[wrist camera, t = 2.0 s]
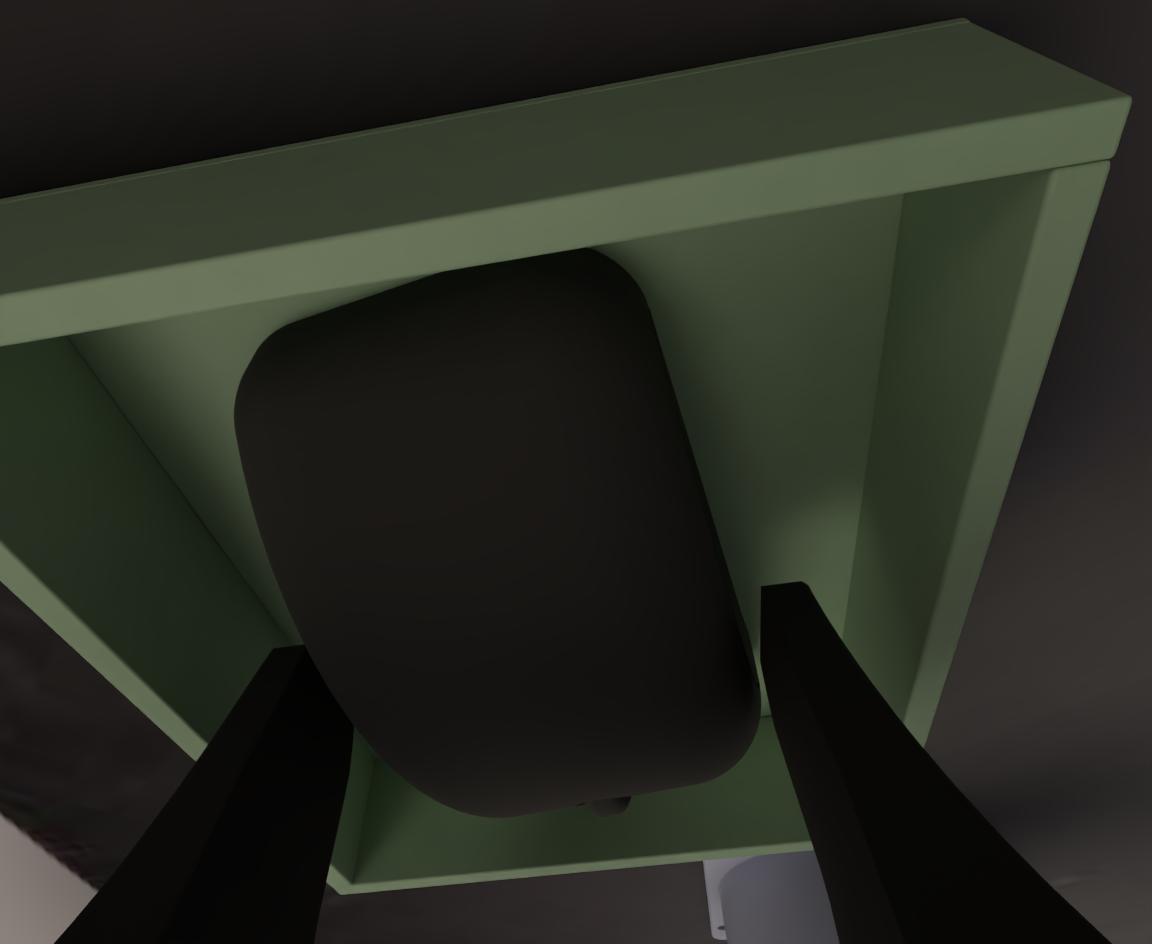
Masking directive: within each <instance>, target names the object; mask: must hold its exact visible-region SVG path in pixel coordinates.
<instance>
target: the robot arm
mask: <svg viewBox="0 0 1152 944" xmlns="http://www.w3.org/2000/svg"><path fill="white" fill-rule="evenodd" d="M760 664H761V669H762V673H763V678H764V683H765V688H766V692H767V697H768V701H769V706H770V711H771V715H772V720H773V724H774V728H775V731H776V734H777V737H778V740H779V743H780V747H781V750H782V753H783V756H784V759H785V762H786V765H787V768H788V771H789V774H790V778H791V781H792V784H793V787H794V790H795V793H796V796H797V799H798V802H799V805H800V808H801V811H802V814H803V817H804V821H805V824H806V827H807V830H808V833H809V836H810V839H811V842H812V845H813V848H814V850H809V851H799V852H788V853H778V854H767V855H756V856H746V857H735V858H725V859H714V860H704V861H703V867H704V875H705V883H706V892H707V900H708V908H709V916H710V924H711V931H712V936H713V937H714V938H715V939H720V940H727V944H1112V943H1111V942H1110V941H1109V940H1107V939H1106V938H1105V937H1104V936H1103V935H1102V934H1101V933H1100V932H1099V931H1098V930H1097V929H1096V928H1095V927H1094V926H1093V925H1092V924H1090V923H1089V922H1088V921H1087V920H1086V919H1085V918H1084V917H1083V916H1082V915H1081V914H1080V913H1079V912H1078V911H1077V910H1076V909H1075V908H1074V907H1072V906H1071V905H1070V904H1069V903H1068V902H1067V901H1066V900H1065V899H1064V898H1063V897H1062V896H1061V895H1060V894H1059V893H1058V892H1057V891H1055V890H1054V889H1053V888H1052V887H1051V886H1050V885H1049V884H1048V883H1047V882H1046V881H1045V880H1044V879H1043V878H1042V877H1041V876H1040V875H1039V874H1038V873H1037V872H1036V871H1035V870H1034V869H1033V868H1032V867H1031V866H1030V865H1029V864H1028V863H1027V862H1026V861H1025V859H1024V858H1023V857H1022V856H1021V855H1020V854H1019V853H1018V852H1017V851H1016V850H1015V849H1014V848H1013V847H1012V846H1011V845H1010V844H1009V843H1008V842H1007V841H1006V840H1005V839H1004V838H1003V837H1002V836H1001V835H1000V834H999V833H998V832H997V831H996V829H995V828H994V827H993V826H992V825H991V824H990V823H989V822H988V821H987V820H986V819H985V818H984V817H983V816H982V815H981V813H980V812H979V811H978V810H977V809H976V808H975V807H974V806H973V805H972V804H971V803H970V801H969V800H968V799H967V798H966V797H965V796H964V795H963V794H962V793H961V791H960V790H959V789H958V788H957V787H956V786H955V785H954V783H953V782H952V781H951V780H950V779H949V778H948V777H947V775H946V774H945V773H944V772H943V771H942V770H941V768H940V767H939V766H938V765H937V764H936V762H935V761H934V760H933V759H932V758H931V757H930V755H929V754H928V753H927V752H926V751H925V749H924V748H923V747H922V746H921V745H920V743H919V742H918V741H917V740H916V739H915V737H914V736H913V735H912V734H911V732H910V731H909V730H908V729H907V727H906V726H905V725H904V724H903V722H902V721H901V720H900V719H899V717H898V716H897V715H896V713H895V712H894V711H893V709H892V708H891V707H890V706H889V704H888V703H887V702H886V700H885V699H884V698H883V696H882V695H881V694H880V692H879V691H878V690H877V688H876V687H875V686H874V685H873V683H872V682H871V681H870V679H869V678H868V676H867V675H866V674H865V672H864V671H863V670H862V668H861V667H860V665H859V664H858V663H857V661H856V660H855V658H854V657H853V655H852V654H851V652H850V651H849V650H848V648H847V647H846V645H845V644H844V642H843V641H842V639H841V638H840V636H839V635H838V633H837V632H836V630H835V629H834V627H833V626H832V624H831V623H830V621H829V619H828V618H827V616H826V615H825V613H824V611H823V610H822V608H821V606H820V605H819V603H818V601H817V600H816V598H815V596H814V594H813V593H812V591H811V589H810V587H809V585H807V584H806V583H804V582H802V581H798V582H790V583H782V584H774V585H767V586H761V617H760ZM353 736H354V725H353V724H352V722H351V721H350V720H349V718H348V717H347V715H346V714H345V712H344V711H343V710H342V708H341V707H340V705H339V704H338V702H337V701H336V699H335V697H334V696H333V694H332V693H331V691H330V689H329V688H328V686H327V684H326V683H325V681H324V679H323V678H322V676H321V674H320V673H319V671H318V669H317V667H316V665H315V664H314V662H313V660H312V658H311V656H310V654H309V652H308V650H307V648H306V647H305V645H304V644H303V645H296V646H288V647H280V648H273V649H272V651H271V652H270V653H269V655H268V656H267V658H266V659H265V661H264V662H263V664H262V665H261V666H260V668H259V669H258V671H257V672H256V674H255V675H254V677H253V678H252V680H251V681H250V683H249V684H248V686H247V687H246V689H245V690H244V692H243V693H242V695H241V696H240V698H239V699H238V701H237V702H236V704H235V705H234V707H233V708H232V710H231V711H230V713H229V714H228V716H227V717H226V719H225V720H224V722H223V723H222V725H221V726H220V728H219V729H218V731H217V732H216V734H215V735H214V737H213V738H212V740H211V741H210V742H209V744H208V745H207V747H206V748H205V750H204V751H203V752H202V754H201V755H200V757H199V758H198V760H197V761H196V763H195V764H194V765H193V767H192V768H191V770H190V771H189V773H188V774H187V775H186V777H185V778H184V780H183V781H182V783H181V784H180V786H179V787H178V788H177V790H176V791H175V793H174V794H173V795H172V797H171V798H170V799H169V801H168V802H167V803H166V805H165V806H164V807H163V809H162V810H161V812H160V813H159V814H158V816H157V817H156V818H155V820H154V821H153V822H152V824H151V825H150V826H149V828H148V829H147V830H146V832H145V833H144V834H143V836H142V837H141V838H140V840H139V841H138V842H137V844H136V845H135V846H134V848H133V849H132V850H131V851H130V853H129V854H128V855H127V857H126V858H125V859H124V860H123V862H122V863H121V864H120V865H119V867H118V868H117V869H116V870H115V872H114V873H113V874H112V876H111V877H110V878H109V879H108V880H107V882H106V883H105V884H104V885H103V887H102V888H101V889H100V890H99V891H98V893H97V894H96V895H95V896H94V897H93V899H92V900H91V901H90V902H89V903H88V905H87V906H86V907H85V908H84V909H83V911H82V912H81V913H80V914H79V916H77V918H76V919H75V920H74V921H73V922H72V924H71V925H70V926H69V927H68V928H67V929H66V931H65V932H64V933H63V934H62V935H61V936H60V937H59V938H58V940H57V941H56V942H55V943H54V944H314V939H315V934H316V928H317V923H318V917H319V913H320V908H321V904H322V899H323V895H324V890H325V885H326V881H327V876H328V872H329V867H330V863H331V858H332V854H333V849H334V845H335V840H336V836H337V831H338V827H339V822H340V817H341V813H342V808H343V803H344V799H345V794H346V789H347V784H348V779H349V774H350V766H351V757H352V748H353Z"/></svg>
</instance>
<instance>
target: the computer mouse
mask: <svg viewBox="0 0 1152 944" xmlns="http://www.w3.org/2000/svg"><path fill="white" fill-rule="evenodd" d="M234 426H235V434H236V439H237V444H238V449H239V454H240V459H241V464H242V469H243V473H244V477H245V481H246V485H247V489H248V493H249V497H250V501H251V505H252V508H253V512H254V515H255V519H256V522H257V526H258V529H259V532H260V535H261V538H262V541H263V544H264V547H265V550H266V553H267V556H268V559H269V562H270V565H271V568H272V571H273V573H274V576H275V578H276V581H277V583H278V586H279V588H280V591H281V593H282V596H283V598H284V601H285V603H286V606H287V608H288V611H289V613H290V615H291V617H292V619H293V621H294V624H295V626H296V628H297V630H298V632H299V634H300V636H301V639H302V641H303V643H304V645H305V647H306V648H307V650H308V652H309V654H310V656H311V658H312V660H313V662H314V664H315V665H316V667H317V669H318V671H319V673H320V674H321V676H322V678H323V679H324V681H325V683H326V684H327V686H328V688H329V689H330V691H331V693H332V694H333V696H334V697H335V699H336V701H337V702H338V704H339V705H340V707H341V708H342V710H343V711H344V712H345V714H346V715H347V717H348V718H349V720H350V721H351V722H352V724H353V725H354V726H355V728H356V729H357V730H358V732H359V733H360V734H361V735H362V737H363V738H364V739H365V740H366V741H367V743H368V744H369V745H370V746H371V747H372V748H373V749H374V751H375V752H376V753H377V754H378V755H379V756H380V757H381V758H382V759H383V760H384V761H385V762H386V763H387V764H388V765H389V766H390V767H391V768H392V769H393V770H394V771H395V772H396V773H397V774H399V775H400V776H401V777H402V778H403V779H405V780H406V781H407V782H408V783H409V784H411V785H412V786H413V787H415V788H416V789H417V790H419V791H420V792H422V793H423V794H425V795H427V796H428V797H430V798H432V799H433V800H435V801H437V802H439V803H441V804H443V805H445V806H447V807H450V808H452V809H454V810H457V811H460V812H463V813H467V814H470V815H475V816H480V817H487V818H510V817H518V816H523V815H529V814H535V813H540V812H546V811H551V810H557V809H562V808H568V807H573V806H579V805H584V804H587V805H588V806H589V808H590V809H591V810H592V811H593V812H594V813H596V814H597V815H600V816H602V817H610V816H615V815H619V814H621V813H623V812H624V811H625V810H626V809H627V807H628V805H629V803H630V801H631V796H635V795H640V794H646V793H652V792H657V791H663V790H669V789H674V788H680V787H686V786H691V785H697V784H701V783H705V782H707V781H710V780H713V779H715V778H717V777H719V776H721V775H723V774H724V773H726V772H727V771H728V770H730V769H731V768H732V767H733V766H735V765H736V764H737V763H738V762H739V761H740V760H741V759H742V757H743V756H744V755H745V753H746V752H747V751H748V749H749V747H750V745H751V744H752V742H753V740H754V737H755V735H756V733H757V729H758V726H759V721H760V715H761V691H760V683H759V678H758V673H757V668H756V663H755V659H754V654H753V649H752V645H751V641H750V637H749V633H748V630H747V627H746V624H745V621H744V619H743V616H742V613H741V610H740V607H739V603H738V600H737V597H736V593H735V590H734V587H733V583H732V580H731V577H730V573H729V570H728V567H727V564H726V560H725V557H724V554H723V550H722V547H721V544H720V540H719V537H718V534H717V530H716V527H715V524H714V520H713V517H712V514H711V511H710V507H709V504H708V501H707V497H706V494H705V491H704V487H703V484H702V481H701V477H700V474H699V471H698V467H697V464H696V461H695V457H694V454H693V451H692V448H691V444H690V441H689V438H688V434H687V431H686V428H685V424H684V421H683V418H682V414H681V411H680V408H679V404H678V401H677V398H676V394H675V391H674V388H673V385H672V381H671V378H670V375H669V371H668V368H667V365H666V361H665V358H664V355H663V351H662V348H661V345H660V341H659V338H658V335H657V331H656V328H655V325H654V322H653V318H652V315H651V312H650V308H648V304H647V300H646V298H645V296H644V294H643V292H642V290H641V289H640V287H639V285H638V284H637V282H636V281H635V280H634V279H633V278H632V276H631V275H630V274H629V273H628V272H627V271H626V270H625V269H624V268H623V267H622V266H620V265H619V264H618V263H616V262H615V261H614V260H612V259H611V258H609V257H607V256H606V255H604V254H602V253H600V252H598V251H596V250H593V249H591V248H588V247H584V248H579V249H573V250H567V251H561V252H555V253H549V254H543V255H537V256H531V257H525V258H520V259H514V260H508V261H502V262H496V263H490V264H484V265H478V266H472V267H466V268H461V269H455V270H449V271H443V272H440V273H437V274H434V275H431V276H428V277H425V278H422V279H419V280H416V281H413V282H410V283H407V284H405V285H402V286H399V287H396V288H393V289H390V290H387V291H384V292H381V293H378V294H375V295H372V296H369V297H366V298H363V299H360V300H358V301H355V302H352V303H349V304H346V305H343V306H340V307H337V308H334V309H331V310H328V311H325V312H322V313H319V314H316V315H313V316H311V317H308V318H305V319H302V320H299V321H296V322H293V323H290V324H287V325H286V326H284V327H282V328H280V329H278V330H276V331H275V332H274V333H272V334H271V335H269V336H268V337H267V338H266V339H265V340H264V341H263V342H262V344H261V345H260V346H259V347H258V349H257V350H256V352H255V354H254V356H253V357H252V359H251V361H250V363H249V365H248V366H247V368H246V370H245V372H244V374H243V376H242V378H241V380H240V383H239V386H238V390H237V393H236V398H235V405H234Z"/></svg>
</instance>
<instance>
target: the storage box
mask: <svg viewBox="0 0 1152 944" xmlns="http://www.w3.org/2000/svg"><path fill="white" fill-rule="evenodd" d="M1131 104H1132V97H1131V96H1129V95H1127V94H1125V93H1123V92H1121V91H1119V90H1116V89H1114V88H1112V87H1110V86H1108V85H1106V84H1103V83H1101V82H1099V81H1097V80H1095V79H1093V78H1090V77H1088V76H1086V75H1084V74H1082V73H1079V72H1077V71H1075V70H1073V69H1071V68H1069V67H1066V66H1064V65H1062V64H1060V63H1058V62H1056V61H1053V60H1051V59H1049V58H1047V57H1045V56H1043V55H1040V54H1038V53H1036V52H1034V51H1032V50H1030V49H1027V48H1025V47H1023V46H1021V45H1019V44H1017V43H1014V42H1012V41H1010V40H1008V39H1006V38H1003V37H1001V36H999V35H997V34H995V33H993V32H990V31H988V30H986V29H984V28H982V27H980V26H977V25H975V24H973V23H970V21H969V20H967V19H965V18H957V19H952V20H947V21H942V22H936V23H931V24H926V25H920V26H915V27H910V28H904V29H899V30H894V31H889V32H883V33H878V34H873V35H867V36H862V37H857V38H851V39H846V40H841V41H836V42H830V43H825V44H820V45H814V46H809V47H804V48H798V49H793V50H788V51H782V52H777V53H772V54H767V55H761V56H756V57H751V58H745V59H740V60H735V61H729V62H724V63H719V64H714V65H708V66H703V67H698V68H692V69H687V70H682V71H676V72H671V73H666V74H661V75H655V76H650V77H645V78H639V79H634V80H629V81H623V82H618V83H613V84H607V85H602V86H597V87H592V88H586V89H581V90H576V91H570V92H565V93H560V94H554V95H549V96H544V97H539V98H533V99H528V100H523V101H517V102H512V103H507V104H501V105H496V106H491V107H486V108H480V109H475V110H470V111H464V112H459V113H454V114H448V115H443V116H438V117H432V118H427V119H422V120H417V121H411V122H406V123H401V124H395V125H390V126H385V127H379V128H374V129H369V130H364V131H358V132H353V133H348V134H342V135H337V136H332V137H326V138H321V139H316V140H311V141H305V142H300V143H295V144H289V145H284V146H279V147H273V148H268V149H263V150H258V151H252V152H247V153H242V154H236V155H231V156H226V157H220V158H215V159H210V160H204V161H199V162H194V163H189V164H183V165H178V166H173V167H167V168H162V169H157V170H151V171H146V172H141V173H136V174H130V175H125V176H120V177H114V178H109V179H104V180H98V181H93V182H88V183H83V184H77V185H72V186H67V187H61V188H56V189H51V190H45V191H40V192H35V193H29V194H24V195H19V196H14V197H8V198H3V199H0V581H1V582H2V583H3V584H4V585H6V586H7V587H8V588H9V589H10V590H11V591H12V592H13V593H14V594H15V595H16V596H17V597H19V598H20V599H21V600H22V601H23V602H24V603H25V604H26V605H27V606H28V607H29V608H30V609H32V610H33V611H34V612H35V613H36V614H37V615H38V616H39V617H40V618H41V619H42V620H43V621H45V622H46V623H47V624H48V625H49V626H50V627H51V628H52V629H53V630H54V631H55V632H56V633H58V634H59V635H60V636H61V637H62V638H63V639H64V640H65V641H66V642H67V643H68V644H69V645H71V646H72V647H73V648H74V649H75V650H76V651H77V652H78V653H79V654H80V655H81V656H82V657H83V658H85V659H86V660H87V661H88V662H89V663H90V664H91V665H92V666H93V667H94V668H95V669H96V670H98V671H99V672H100V673H101V674H102V675H103V676H104V677H105V678H106V679H107V680H108V681H109V682H111V683H112V684H113V685H114V686H115V687H116V688H117V689H118V690H119V691H120V692H121V693H122V694H124V695H125V696H126V697H127V698H128V699H129V700H130V701H131V702H132V703H133V704H134V705H135V706H137V707H138V708H139V709H140V710H141V711H142V712H143V713H144V714H145V715H146V716H147V717H148V718H149V719H151V720H152V721H153V722H154V723H155V724H156V725H157V726H158V727H159V728H160V729H161V730H162V731H164V732H165V733H166V734H167V735H168V736H169V737H170V738H171V739H172V740H173V741H174V742H175V743H177V744H178V745H179V746H180V747H181V748H182V749H183V750H184V751H185V752H186V753H187V754H188V755H190V756H191V757H192V758H193V759H194V760H195V761H197V760H198V758H199V757H200V755H201V754H202V752H203V751H204V750H205V748H206V747H207V745H208V744H209V742H210V741H211V740H212V738H213V737H214V735H215V734H216V732H217V731H218V729H219V728H220V726H221V725H222V723H223V722H224V720H225V719H226V717H227V716H228V714H229V713H230V711H231V710H232V708H233V707H234V705H235V704H236V702H237V701H238V699H239V698H240V696H241V695H242V693H243V692H244V690H245V689H246V687H247V686H248V684H249V683H250V681H251V680H252V678H253V677H254V675H255V674H256V672H257V671H258V669H259V668H260V666H261V665H262V664H263V662H264V661H265V659H266V658H267V656H268V655H269V653H270V652H271V651H272V649H273V648H280V647H288V646H296V645H303V644H304V643H303V641H302V639H301V636H300V634H299V632H298V630H297V628H296V626H295V624H294V621H293V619H292V617H291V615H290V613H289V611H288V608H287V606H286V603H285V601H284V598H283V596H282V593H281V591H280V588H279V586H278V583H277V581H276V578H275V576H274V573H273V571H272V568H271V565H270V562H269V559H268V556H267V553H266V550H265V547H264V544H263V541H262V538H261V535H260V532H259V529H258V526H257V522H256V519H255V515H254V512H253V508H252V505H251V501H250V497H249V493H248V489H247V485H246V481H245V477H244V473H243V469H242V464H241V459H240V454H239V449H238V444H237V439H236V434H235V426H234V405H235V398H236V393H237V390H238V386H239V383H240V380H241V378H242V376H243V374H244V372H245V370H246V368H247V366H248V365H249V363H250V361H251V359H252V357H253V356H254V354H255V352H256V350H257V349H258V347H259V346H260V345H261V344H262V342H263V341H264V340H265V339H266V338H267V337H268V336H269V335H271V334H272V333H274V332H275V331H276V330H278V329H280V328H282V327H284V326H286V325H287V324H290V323H293V322H296V321H299V320H302V319H305V318H308V317H311V316H313V315H316V314H319V313H322V312H325V311H328V310H331V309H334V308H337V307H340V306H343V305H346V304H349V303H352V302H355V301H358V300H360V299H363V298H366V297H369V296H372V295H375V294H378V293H381V292H384V291H387V290H390V289H393V288H396V287H399V286H402V285H405V284H407V283H410V282H413V281H416V280H419V279H422V278H425V277H428V276H431V275H434V274H437V273H440V272H443V271H449V270H455V269H461V268H466V267H472V266H478V265H484V264H490V263H496V262H502V261H508V260H514V259H520V258H525V257H531V256H537V255H543V254H549V253H555V252H561V251H567V250H573V249H579V248H584V247H588V248H591V249H593V250H596V251H598V252H600V253H602V254H604V255H606V256H607V257H609V258H611V259H612V260H614V261H615V262H616V263H618V264H619V265H620V266H622V267H623V268H624V269H625V270H626V271H627V272H628V273H629V274H630V275H631V276H632V278H633V279H634V280H635V281H636V282H637V284H638V285H639V287H640V289H641V290H642V292H643V294H644V296H645V298H646V300H647V304H648V308H650V312H651V315H652V318H653V322H654V325H655V328H656V331H657V335H658V338H659V341H660V345H661V348H662V351H663V355H664V358H665V361H666V365H667V368H668V371H669V375H670V378H671V381H672V385H673V388H674V391H675V394H676V398H677V401H678V404H679V408H680V411H681V414H682V418H683V421H684V424H685V428H686V431H687V434H688V438H689V441H690V444H691V448H692V451H693V454H694V457H695V461H696V464H697V467H698V471H699V474H700V477H701V481H702V484H703V487H704V491H705V494H706V497H707V501H708V504H709V507H710V511H711V514H712V517H713V520H714V524H715V527H716V530H717V534H718V537H719V540H720V544H721V547H722V550H723V554H724V557H725V560H726V564H727V567H728V570H729V573H730V577H731V580H732V583H733V587H734V590H735V593H736V597H737V600H738V603H739V607H740V610H741V613H742V616H743V619H744V621H745V624H746V627H747V630H748V633H749V637H750V641H751V645H752V649H753V654H754V659H755V663H756V668H757V673H758V678H759V683H760V691H761V715H760V721H759V726H758V729H757V733H756V735H755V737H754V740H753V742H752V744H751V745H750V747H749V749H748V751H747V752H746V753H745V755H744V756H743V757H742V759H741V760H740V761H739V762H738V763H737V764H736V765H735V766H733V767H732V768H731V769H730V770H728V771H727V772H726V773H724V774H723V775H721V776H719V777H717V778H715V779H713V780H710V781H707V782H705V783H701V784H697V785H691V786H686V787H680V788H674V789H669V790H663V791H657V792H652V793H646V794H640V795H635V796H631V801H630V803H629V805H628V807H627V809H626V810H625V811H624V812H623V813H621V814H619V815H615V816H610V817H602V816H600V815H597V814H596V813H594V812H593V811H592V810H591V809H590V808H589V806H588V805H587V804H584V805H579V806H573V807H568V808H562V809H557V810H551V811H546V812H540V813H535V814H529V815H523V816H518V817H510V818H487V817H480V816H475V815H470V814H467V813H463V812H460V811H457V810H454V809H452V808H450V807H447V806H445V805H443V804H441V803H439V802H437V801H435V800H433V799H432V798H430V797H428V796H427V795H425V794H423V793H422V792H420V791H419V790H417V789H416V788H415V787H413V786H412V785H411V784H409V783H408V782H407V781H406V780H405V779H403V778H402V777H401V776H400V775H399V774H397V773H396V772H395V771H394V770H393V769H392V768H391V767H390V766H389V765H388V764H387V763H386V762H385V761H384V760H383V759H382V758H381V757H380V756H379V755H378V754H377V753H376V752H375V751H374V749H373V748H372V747H371V746H370V745H369V744H368V743H367V741H366V740H365V739H364V738H363V737H362V735H361V734H360V733H359V732H358V730H357V729H356V728H355V726H354V736H353V748H352V757H351V766H350V774H349V779H348V784H347V789H346V794H345V799H344V803H343V808H342V813H341V817H340V822H339V827H338V831H337V836H336V840H335V845H334V849H333V854H332V858H331V863H330V867H329V872H328V876H327V881H326V882H327V883H328V884H329V885H330V886H331V887H333V888H334V889H335V890H336V891H337V892H338V893H339V894H341V895H344V894H354V893H365V892H375V891H386V890H397V889H407V888H418V887H428V886H439V885H450V884H460V883H471V882H481V881H492V880H502V879H513V878H524V877H534V876H545V875H555V874H566V873H577V872H587V871H598V870H608V869H619V868H629V867H640V866H651V865H661V864H672V863H682V862H693V861H704V860H714V859H725V858H735V857H746V856H756V855H767V854H778V853H788V852H799V851H809V850H814V848H813V845H812V842H811V839H810V836H809V833H808V830H807V827H806V824H805V821H804V817H803V814H802V811H801V808H800V805H799V802H798V799H797V796H796V793H795V790H794V787H793V784H792V781H791V778H790V774H789V771H788V768H787V765H786V762H785V759H784V756H783V753H782V750H781V747H780V743H779V740H778V737H777V734H776V731H775V728H774V724H773V720H772V715H771V711H770V706H769V701H768V697H767V692H766V688H765V683H764V678H763V673H762V669H761V664H760V617H761V586H767V585H774V584H782V583H790V582H798V581H802V582H804V583H806V584H807V585H809V587H810V589H811V591H812V593H813V594H814V596H815V598H816V600H817V601H818V603H819V605H820V606H821V608H822V610H823V611H824V613H825V615H826V616H827V618H828V619H829V621H830V623H831V624H832V626H833V627H834V629H835V630H836V632H837V633H838V635H839V636H840V638H841V639H842V641H843V642H844V644H845V645H846V647H847V648H848V650H849V651H850V652H851V654H852V655H853V657H854V658H855V660H856V661H857V663H858V664H859V665H860V667H861V668H862V670H863V671H864V672H865V674H866V675H867V676H868V678H869V679H870V681H871V682H872V683H873V685H874V686H875V687H876V688H877V690H878V691H879V692H880V694H881V695H882V696H883V698H884V699H885V700H886V702H887V703H888V704H889V706H890V707H891V708H892V709H893V711H894V712H895V713H896V715H897V716H898V717H899V719H900V720H901V721H902V722H903V724H904V725H905V726H906V727H907V729H908V730H909V731H910V732H911V734H912V735H913V736H914V737H915V739H916V740H917V741H918V742H919V743H920V745H921V746H922V747H923V748H924V746H925V743H926V740H927V737H928V734H929V730H930V727H931V724H932V721H933V718H934V715H935V712H936V709H937V705H938V702H939V699H940V696H941V693H942V690H943V687H944V684H945V681H946V677H947V674H948V671H949V668H950V665H951V662H952V659H953V656H954V653H955V649H956V646H957V643H958V640H959V637H960V634H961V631H962V628H963V625H964V621H965V618H966V615H967V612H968V609H969V606H970V603H971V600H972V596H973V593H974V590H975V587H976V584H977V581H978V578H979V575H980V572H981V568H982V565H983V562H984V559H985V556H986V553H987V550H988V547H989V544H990V540H991V537H992V534H993V531H994V528H995V525H996V522H997V519H998V516H999V512H1000V509H1001V506H1002V503H1003V500H1004V497H1005V494H1006V491H1007V488H1008V484H1009V481H1010V478H1011V475H1012V472H1013V469H1014V466H1015V463H1016V459H1017V456H1018V453H1019V450H1020V447H1021V444H1022V441H1023V438H1024V435H1025V431H1026V428H1027V425H1028V422H1029V419H1030V416H1031V413H1032V410H1033V407H1034V403H1035V400H1036V397H1037V394H1038V391H1039V388H1040V385H1041V382H1042V379H1043V375H1044V372H1045V369H1046V366H1047V363H1048V360H1049V357H1050V354H1051V350H1052V347H1053V344H1054V341H1055V338H1056V335H1057V332H1058V329H1059V326H1060V322H1061V319H1062V316H1063V313H1064V310H1065V307H1066V304H1067V301H1068V298H1069V294H1070V291H1071V288H1072V285H1073V282H1074V279H1075V276H1076V273H1077V270H1078V266H1079V263H1080V260H1081V257H1082V254H1083V251H1084V248H1085V245H1086V241H1087V238H1088V235H1089V232H1090V229H1091V226H1092V223H1093V220H1094V217H1095V213H1096V210H1097V207H1098V204H1099V201H1100V198H1101V195H1102V192H1103V189H1104V185H1105V182H1106V179H1107V176H1108V173H1109V170H1110V161H1109V160H1108V159H1109V158H1112V157H1113V156H1114V155H1115V153H1116V150H1117V147H1118V144H1119V141H1120V138H1121V135H1122V132H1123V129H1124V125H1125V122H1126V119H1127V116H1128V113H1129V110H1130V107H1131Z"/></svg>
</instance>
